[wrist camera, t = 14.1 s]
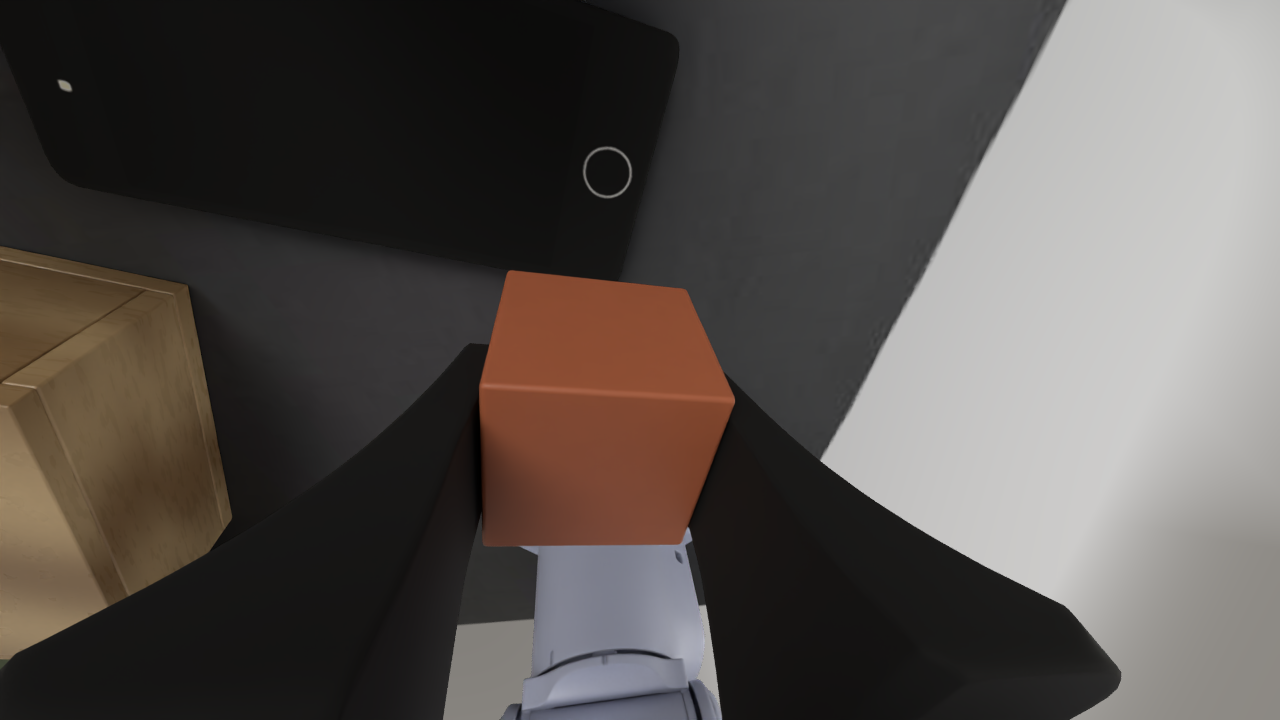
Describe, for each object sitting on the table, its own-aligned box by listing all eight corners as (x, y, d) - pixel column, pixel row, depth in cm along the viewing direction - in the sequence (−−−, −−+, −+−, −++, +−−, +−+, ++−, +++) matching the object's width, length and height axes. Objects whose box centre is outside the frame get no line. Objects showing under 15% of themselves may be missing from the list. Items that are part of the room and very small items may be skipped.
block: (653, 417, 13) (682, 546, 10) (504, 409, 12) (481, 549, 9) (687, 287, 11) (738, 400, 7) (507, 268, 10) (478, 385, 7)
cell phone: (614, 281, 20) (616, 292, 19) (79, 175, 15) (53, 183, 14) (679, 37, 15) (686, 38, 14) (-70, -225, 10) (-121, -245, 10)
